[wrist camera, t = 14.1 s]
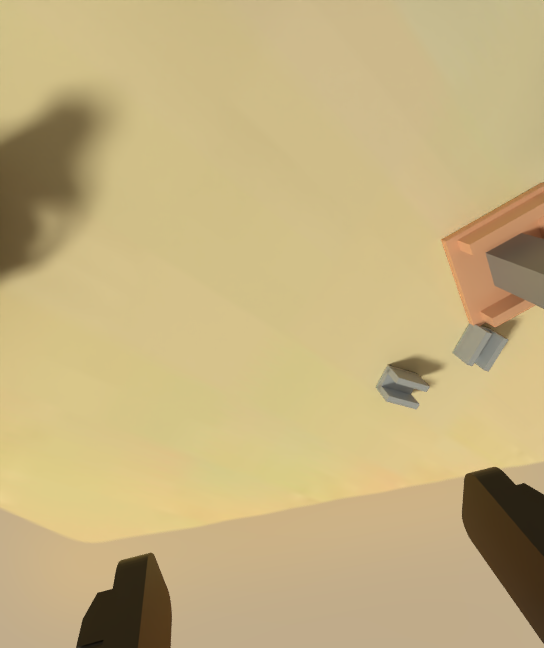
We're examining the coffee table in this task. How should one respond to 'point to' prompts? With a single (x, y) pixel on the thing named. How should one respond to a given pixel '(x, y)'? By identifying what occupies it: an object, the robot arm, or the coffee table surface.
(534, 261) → the plug
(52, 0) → the coffee table surface
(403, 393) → the clip
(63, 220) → the coffee table surface
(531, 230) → the holder
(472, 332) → the clip
